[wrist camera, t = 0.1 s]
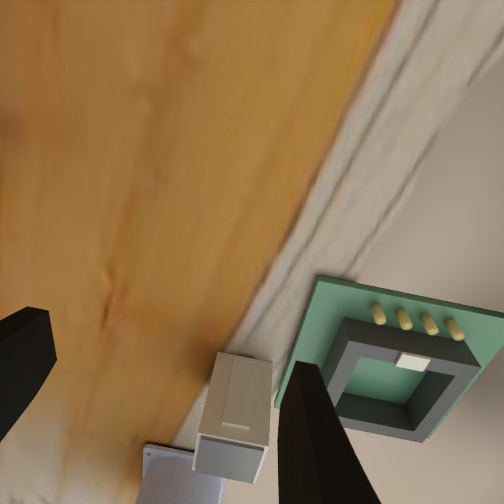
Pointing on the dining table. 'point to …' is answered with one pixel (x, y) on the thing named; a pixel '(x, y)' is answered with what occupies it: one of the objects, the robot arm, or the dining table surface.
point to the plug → (235, 419)
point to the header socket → (392, 355)
